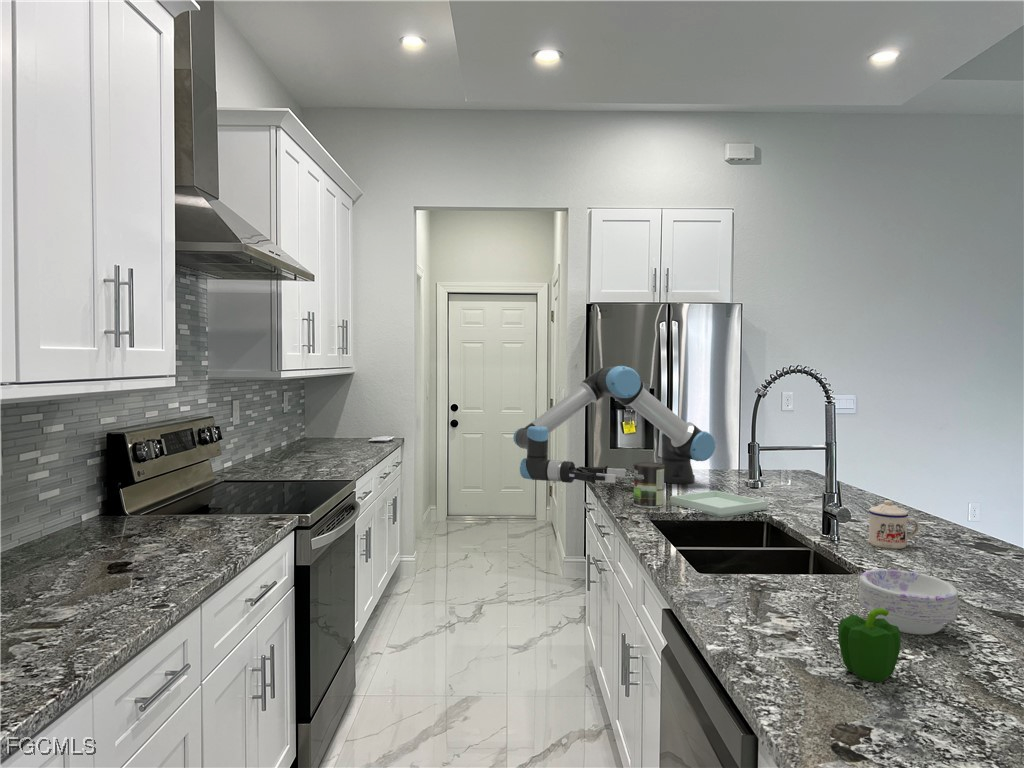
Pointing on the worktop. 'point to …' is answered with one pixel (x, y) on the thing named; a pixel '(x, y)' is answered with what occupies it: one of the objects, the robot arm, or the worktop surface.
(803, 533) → the worktop surface
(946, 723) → the worktop surface
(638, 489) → the coffee can
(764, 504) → the tray
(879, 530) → the teacup with lid
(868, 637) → the bell pepper
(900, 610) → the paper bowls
